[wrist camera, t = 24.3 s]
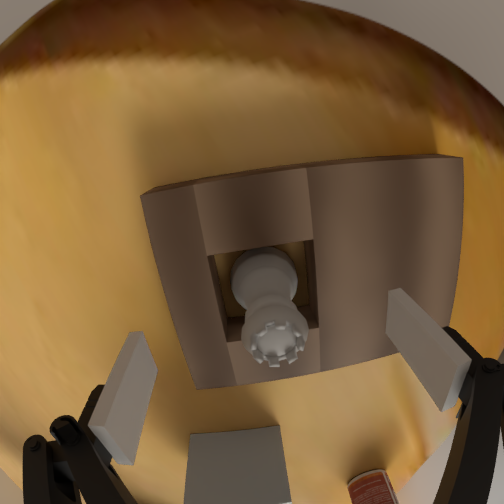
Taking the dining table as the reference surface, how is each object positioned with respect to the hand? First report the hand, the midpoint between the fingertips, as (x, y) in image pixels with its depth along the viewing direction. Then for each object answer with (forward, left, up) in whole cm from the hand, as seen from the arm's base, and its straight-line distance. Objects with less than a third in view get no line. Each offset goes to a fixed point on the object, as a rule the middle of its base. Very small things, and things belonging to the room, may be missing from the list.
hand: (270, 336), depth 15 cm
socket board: (+4, +1, -6) cm, 8 cm away
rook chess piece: (0, +1, -7) cm, 7 cm away
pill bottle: (+11, -35, -7) cm, 38 cm away
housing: (-5, -20, -6) cm, 22 cm away
